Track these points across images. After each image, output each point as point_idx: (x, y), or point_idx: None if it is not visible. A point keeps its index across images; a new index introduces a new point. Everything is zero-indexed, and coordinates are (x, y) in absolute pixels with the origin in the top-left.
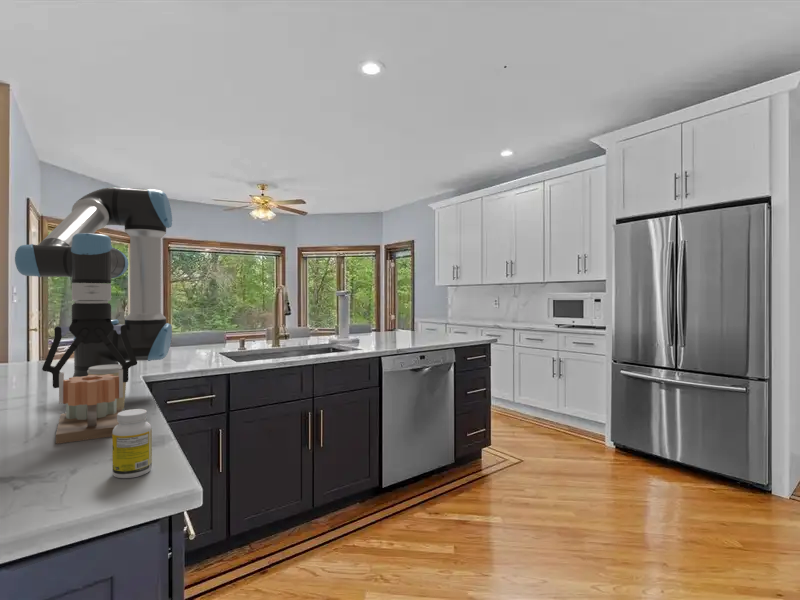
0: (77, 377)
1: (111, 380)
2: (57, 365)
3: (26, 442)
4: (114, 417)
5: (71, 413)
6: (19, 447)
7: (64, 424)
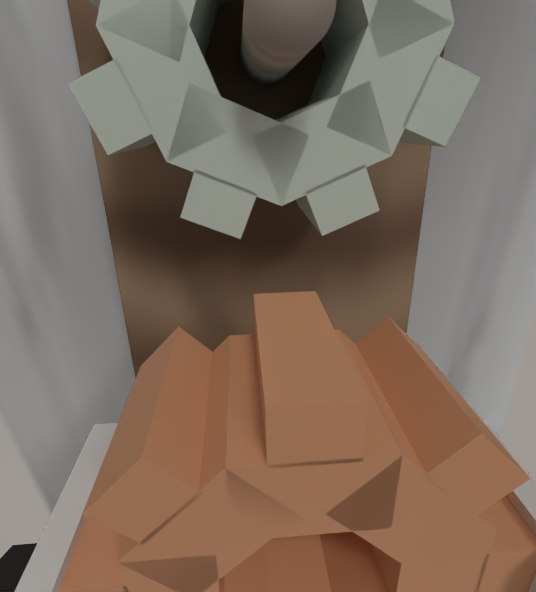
0: (170, 516)
1: None
2: None
3: (30, 331)
4: (376, 233)
5: (151, 142)
6: (30, 388)
7: (145, 267)
